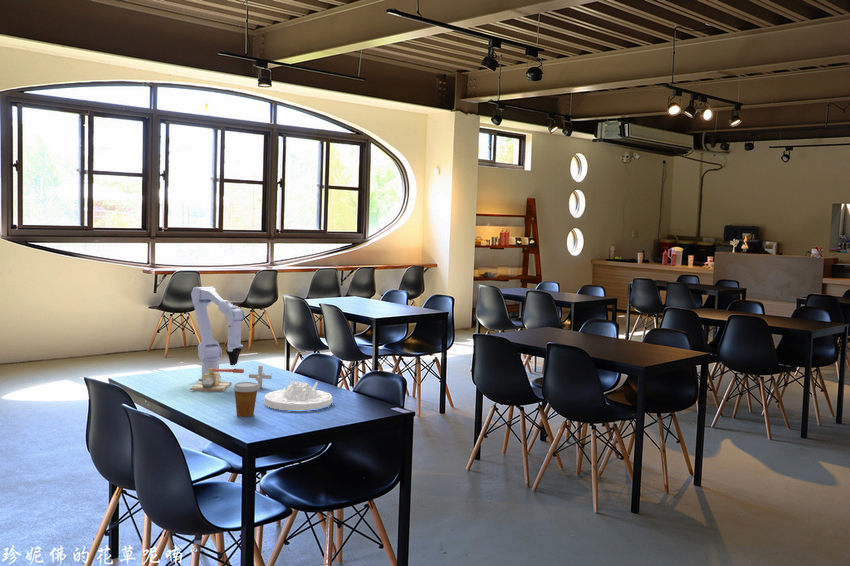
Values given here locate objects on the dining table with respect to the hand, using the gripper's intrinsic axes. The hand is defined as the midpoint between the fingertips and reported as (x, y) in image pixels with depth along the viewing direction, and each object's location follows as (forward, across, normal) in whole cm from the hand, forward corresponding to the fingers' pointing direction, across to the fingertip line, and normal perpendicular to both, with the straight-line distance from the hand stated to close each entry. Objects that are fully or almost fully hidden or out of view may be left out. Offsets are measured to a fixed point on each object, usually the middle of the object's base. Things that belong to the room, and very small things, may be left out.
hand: (233, 364), depth 324 cm
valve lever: (+2, -7, +1) cm, 7 cm away
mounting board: (+9, -7, +8) cm, 14 cm away
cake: (+10, -30, -35) cm, 47 cm away
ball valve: (+9, -7, +8) cm, 14 cm away
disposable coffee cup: (+10, -52, -18) cm, 56 cm away
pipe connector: (+10, -3, -13) cm, 16 cm away
